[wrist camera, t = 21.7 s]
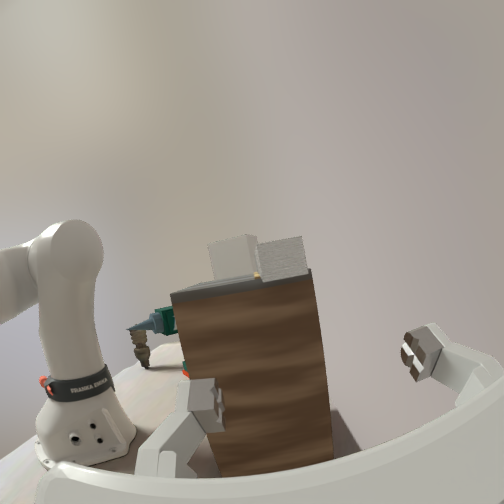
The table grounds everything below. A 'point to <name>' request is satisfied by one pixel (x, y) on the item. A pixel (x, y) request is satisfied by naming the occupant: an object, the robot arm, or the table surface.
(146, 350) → the brown carved figurine
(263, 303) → the stand
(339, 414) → the table surface
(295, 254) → the brushed metal bar
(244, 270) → the white cradle pedestal
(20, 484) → the table surface
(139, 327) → the power tool
